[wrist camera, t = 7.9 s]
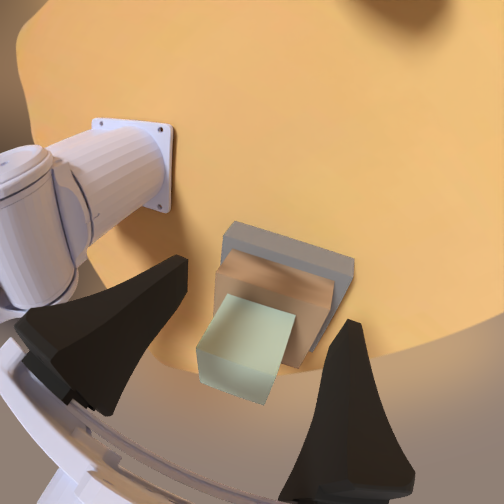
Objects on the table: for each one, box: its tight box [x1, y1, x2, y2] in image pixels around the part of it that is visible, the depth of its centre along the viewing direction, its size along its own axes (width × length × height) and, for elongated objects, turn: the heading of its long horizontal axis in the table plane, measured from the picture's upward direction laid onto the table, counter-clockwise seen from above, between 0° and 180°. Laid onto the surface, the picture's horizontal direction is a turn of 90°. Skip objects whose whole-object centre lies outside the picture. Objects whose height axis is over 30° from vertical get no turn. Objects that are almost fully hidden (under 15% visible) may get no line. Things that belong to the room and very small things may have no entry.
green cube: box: [196, 294, 296, 405], centre depth 19 cm, size 5×5×5 cm
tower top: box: [213, 248, 335, 369], centre depth 22 cm, size 8×8×3 cm
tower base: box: [220, 221, 354, 352], centre depth 24 cm, size 10×10×3 cm
